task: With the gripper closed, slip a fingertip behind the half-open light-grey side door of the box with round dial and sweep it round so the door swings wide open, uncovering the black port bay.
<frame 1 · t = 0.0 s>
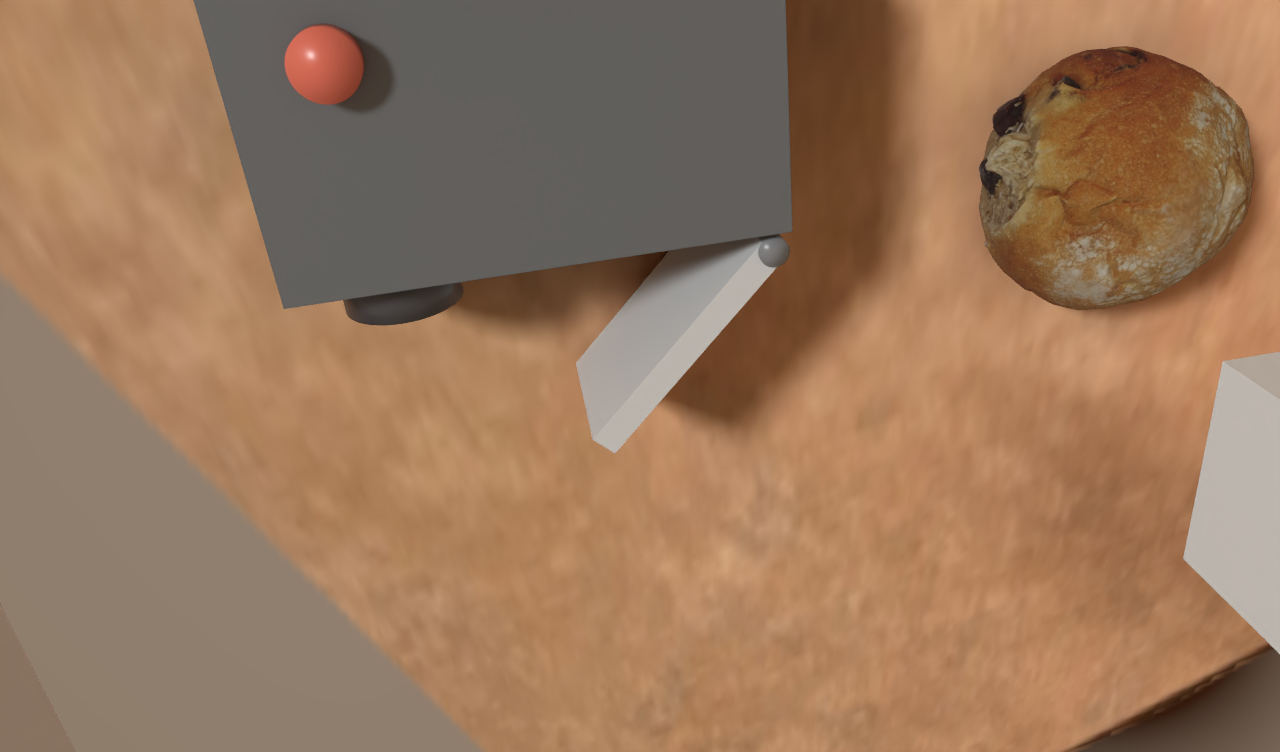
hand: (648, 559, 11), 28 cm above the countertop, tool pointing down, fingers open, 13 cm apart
side door: (680, 315, 37), point 3 cm above the countertop, hinge at 45.0°
bread roll: (1076, 166, 41), on the countertop
box with round dial: (509, 63, 35), on the countertop
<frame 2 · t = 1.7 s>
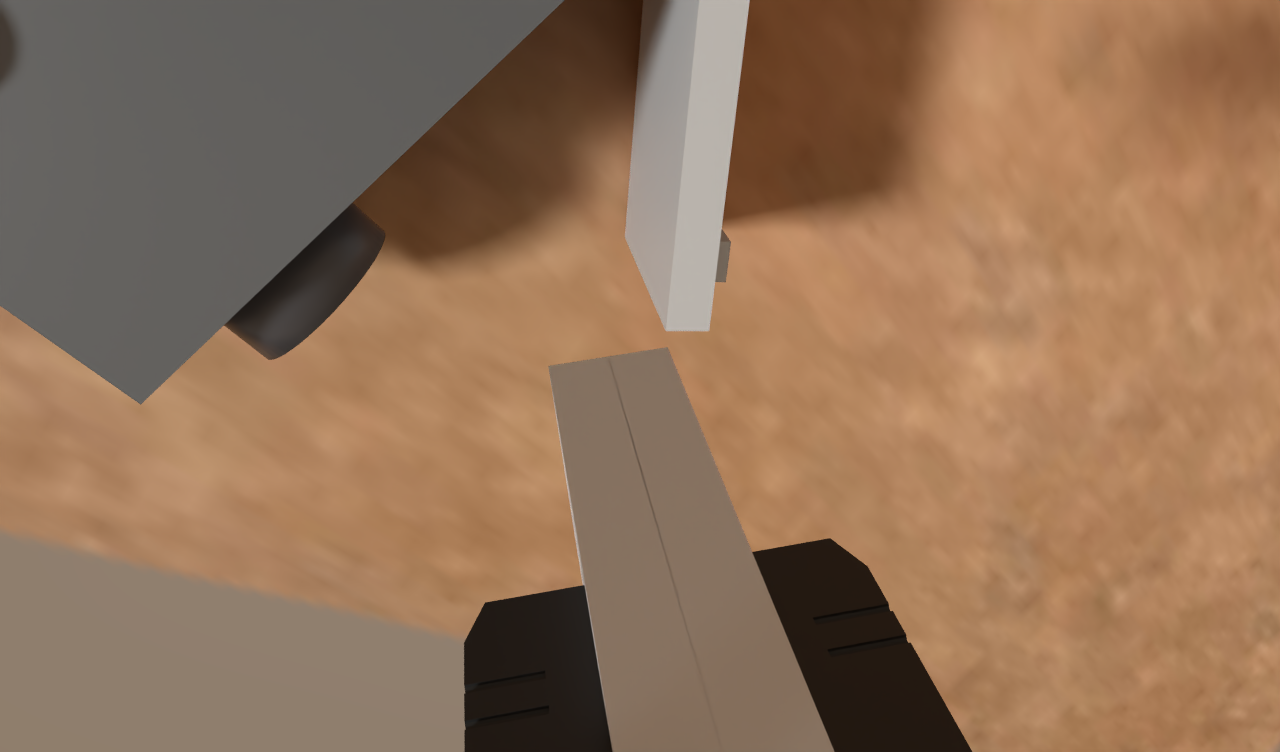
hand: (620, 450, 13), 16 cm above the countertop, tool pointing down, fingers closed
side door: (694, 88, 23), point 3 cm above the countertop, hinge at 45.0°
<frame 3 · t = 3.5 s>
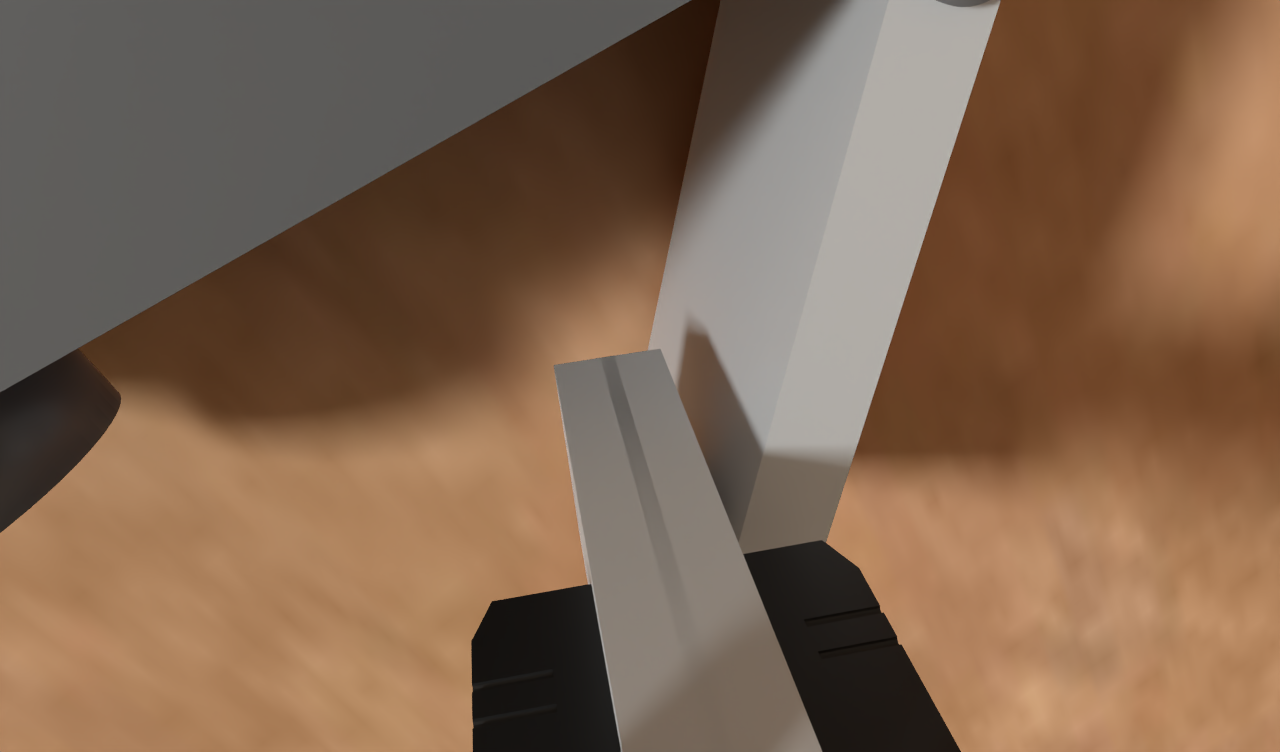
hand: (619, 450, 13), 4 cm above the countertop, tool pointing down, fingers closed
side door: (780, 279, 13), point 3 cm above the countertop, hinge at 52.1°, touching gripper
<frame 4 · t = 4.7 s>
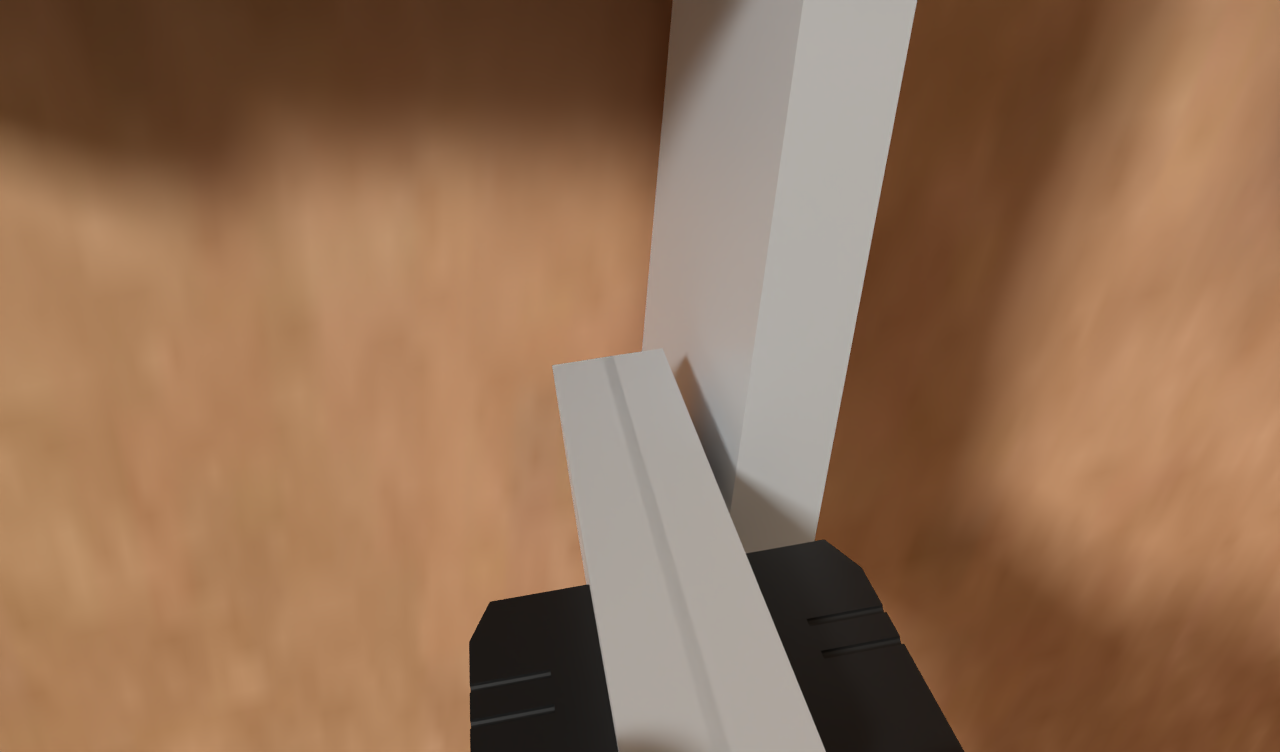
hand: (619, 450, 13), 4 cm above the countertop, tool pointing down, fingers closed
side door: (754, 269, 13), point 3 cm above the countertop, hinge at 89.8°, touching gripper
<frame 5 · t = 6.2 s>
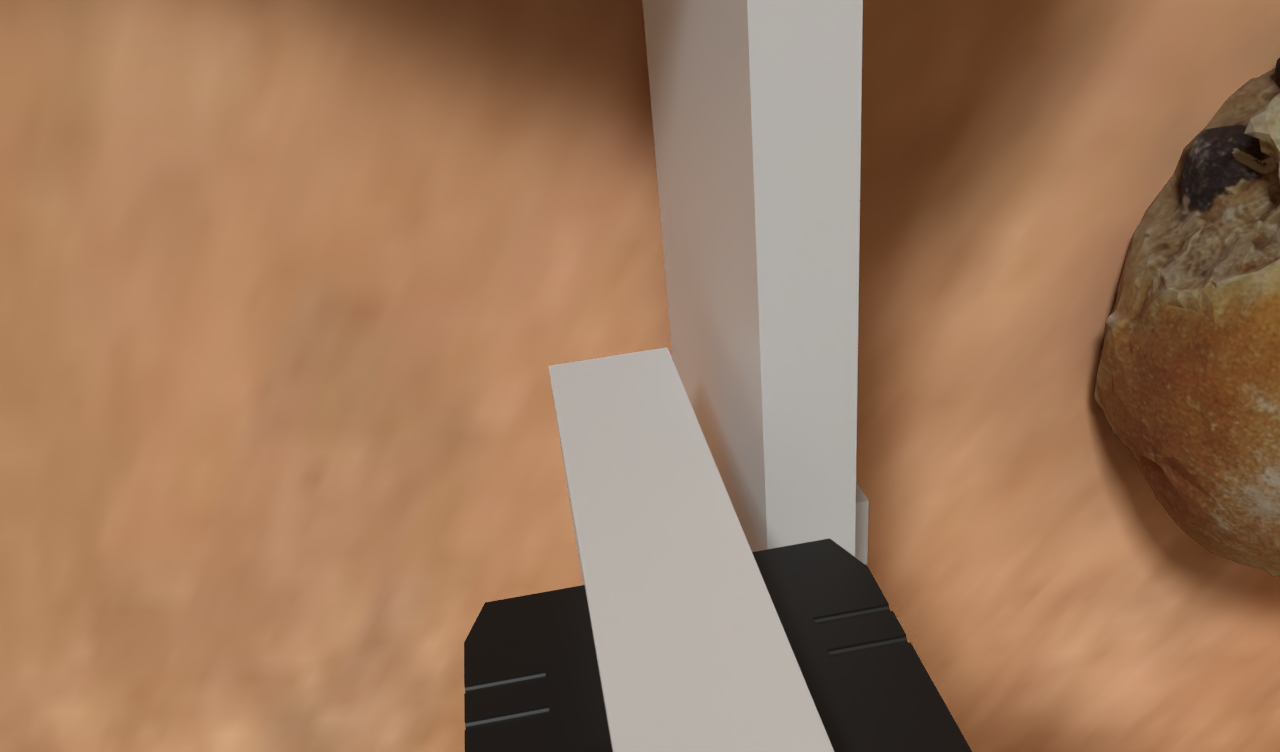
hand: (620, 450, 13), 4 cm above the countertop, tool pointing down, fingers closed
side door: (760, 229, 13), point 3 cm above the countertop, hinge at 120.1°
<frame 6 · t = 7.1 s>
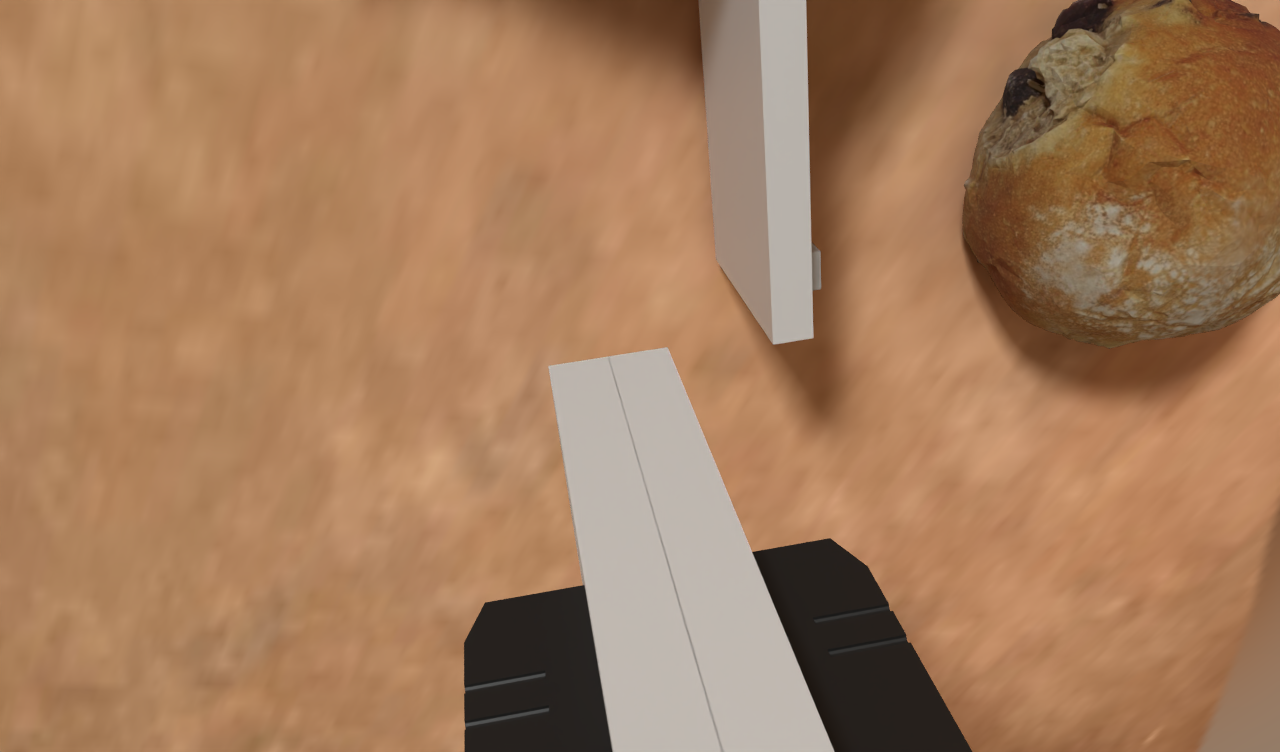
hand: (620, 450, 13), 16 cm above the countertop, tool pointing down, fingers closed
side door: (763, 114, 25), point 3 cm above the countertop, hinge at 120.2°
bread roll: (1098, 156, 31), on the countertop
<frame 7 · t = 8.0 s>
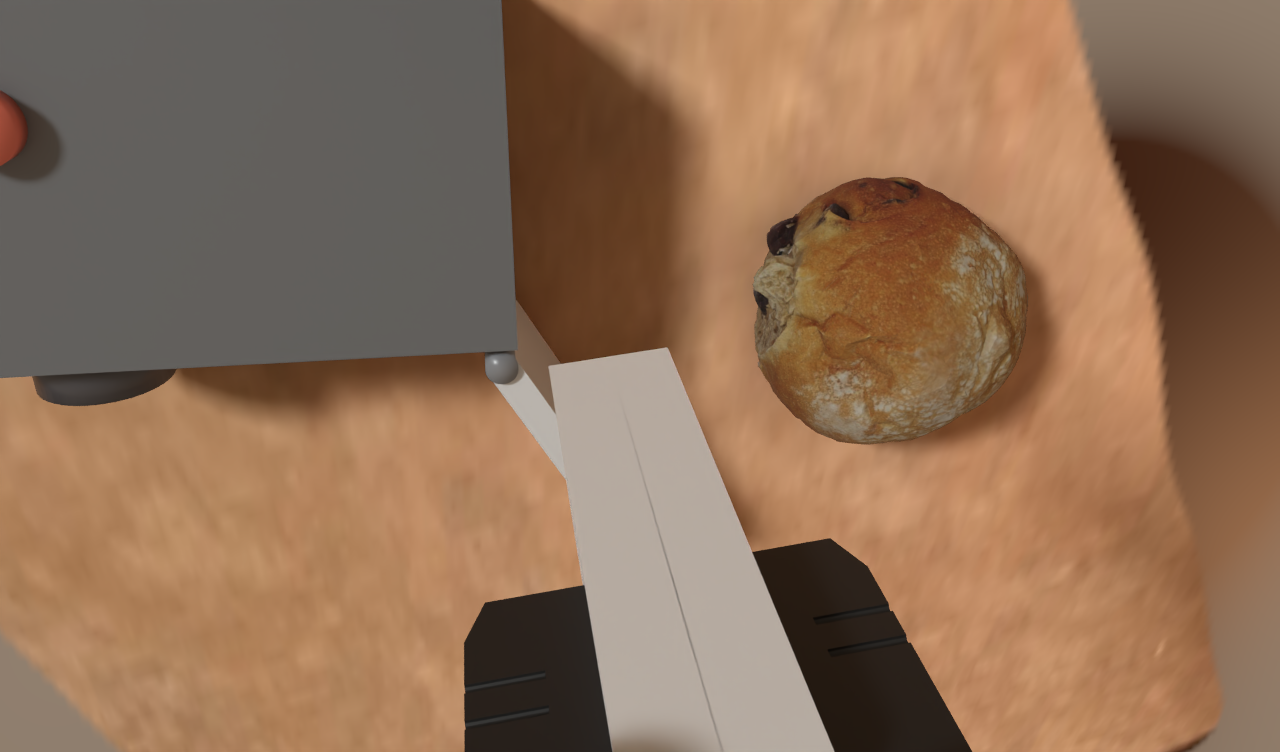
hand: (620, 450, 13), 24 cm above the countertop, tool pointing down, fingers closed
side door: (573, 417, 36), point 3 cm above the countertop, hinge at 120.2°
bread roll: (861, 292, 39), on the countertop
box with round dial: (256, 136, 33), on the countertop
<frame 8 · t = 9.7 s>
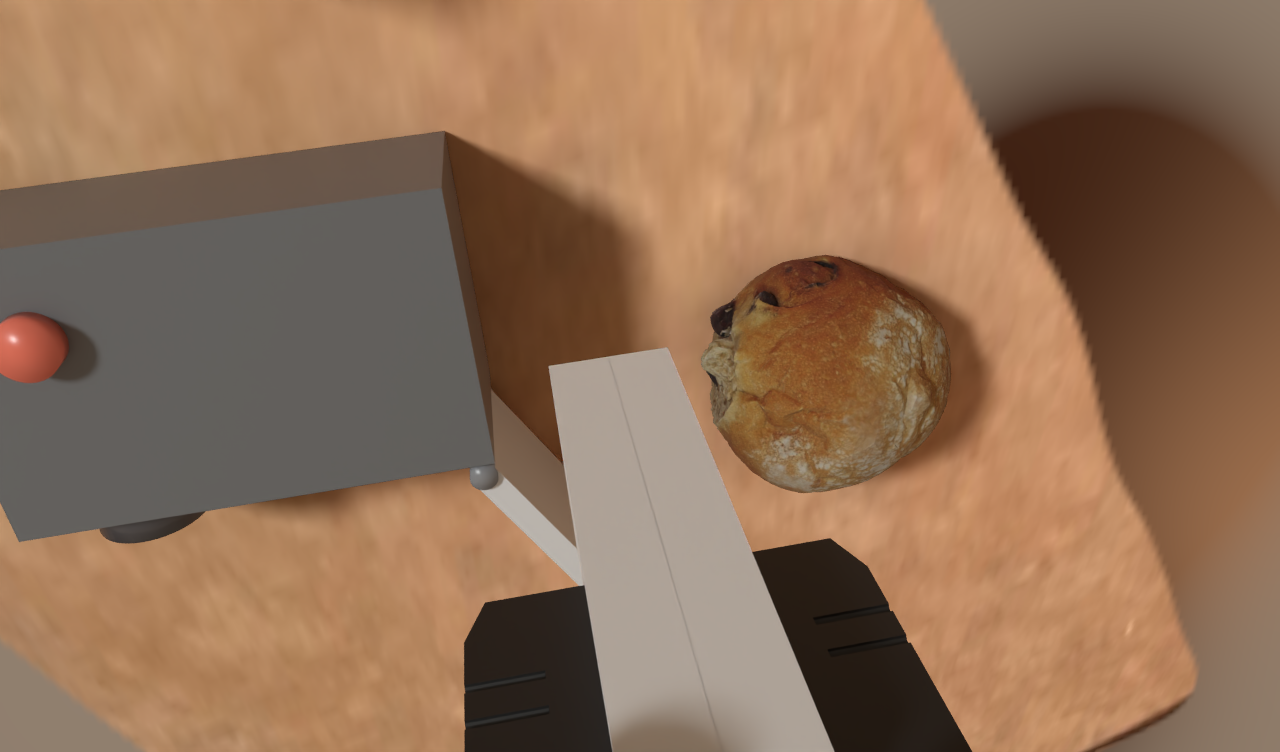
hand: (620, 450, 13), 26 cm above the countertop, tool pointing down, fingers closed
side door: (556, 497, 41), point 3 cm above the countertop, hinge at 120.2°
bread roll: (805, 352, 44), on the countertop
box with round dial: (258, 289, 38), on the countertop
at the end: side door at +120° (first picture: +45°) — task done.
